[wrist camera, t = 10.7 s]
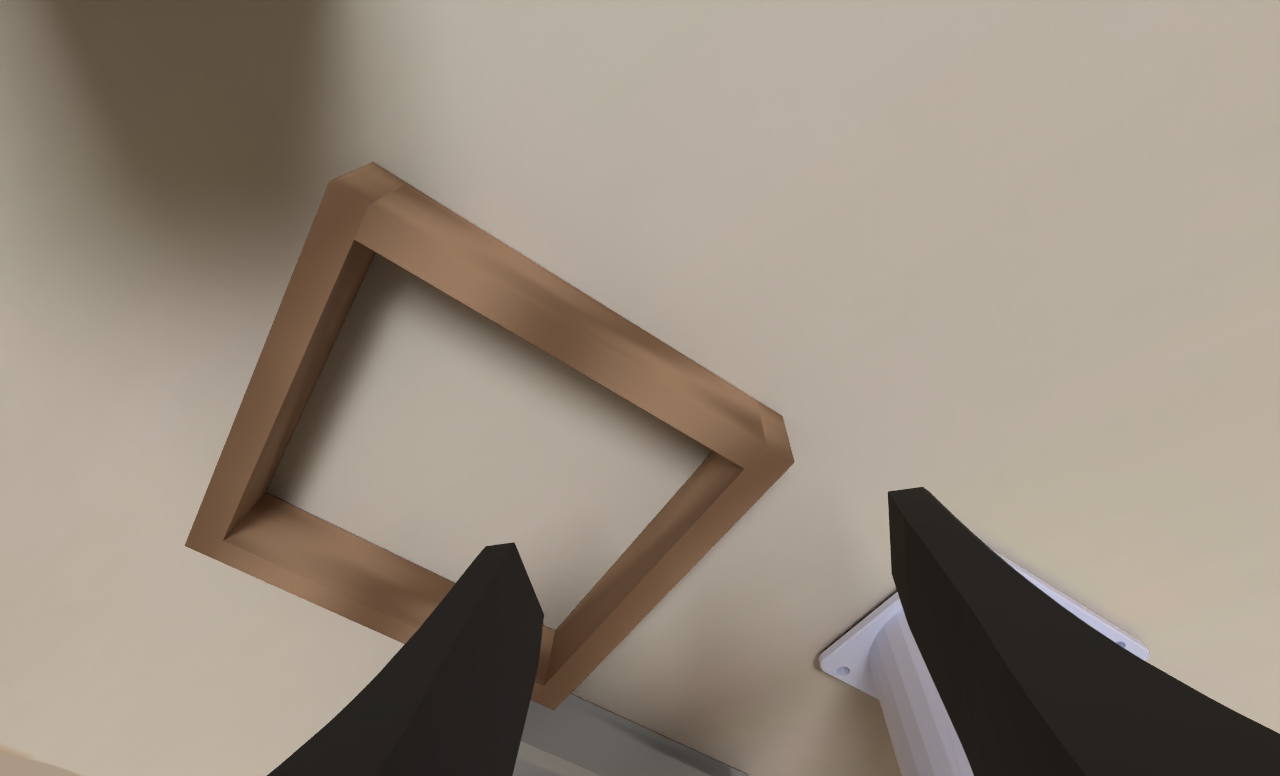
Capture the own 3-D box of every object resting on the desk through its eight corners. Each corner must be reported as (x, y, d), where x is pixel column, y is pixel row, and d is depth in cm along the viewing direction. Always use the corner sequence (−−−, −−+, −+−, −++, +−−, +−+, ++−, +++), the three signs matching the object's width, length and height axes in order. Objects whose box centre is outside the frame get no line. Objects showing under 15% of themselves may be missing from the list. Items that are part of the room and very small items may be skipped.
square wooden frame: (782, 416, 21) (794, 462, 19) (564, 654, 27) (554, 710, 25) (372, 161, 18) (329, 181, 15) (230, 497, 24) (184, 546, 21)
